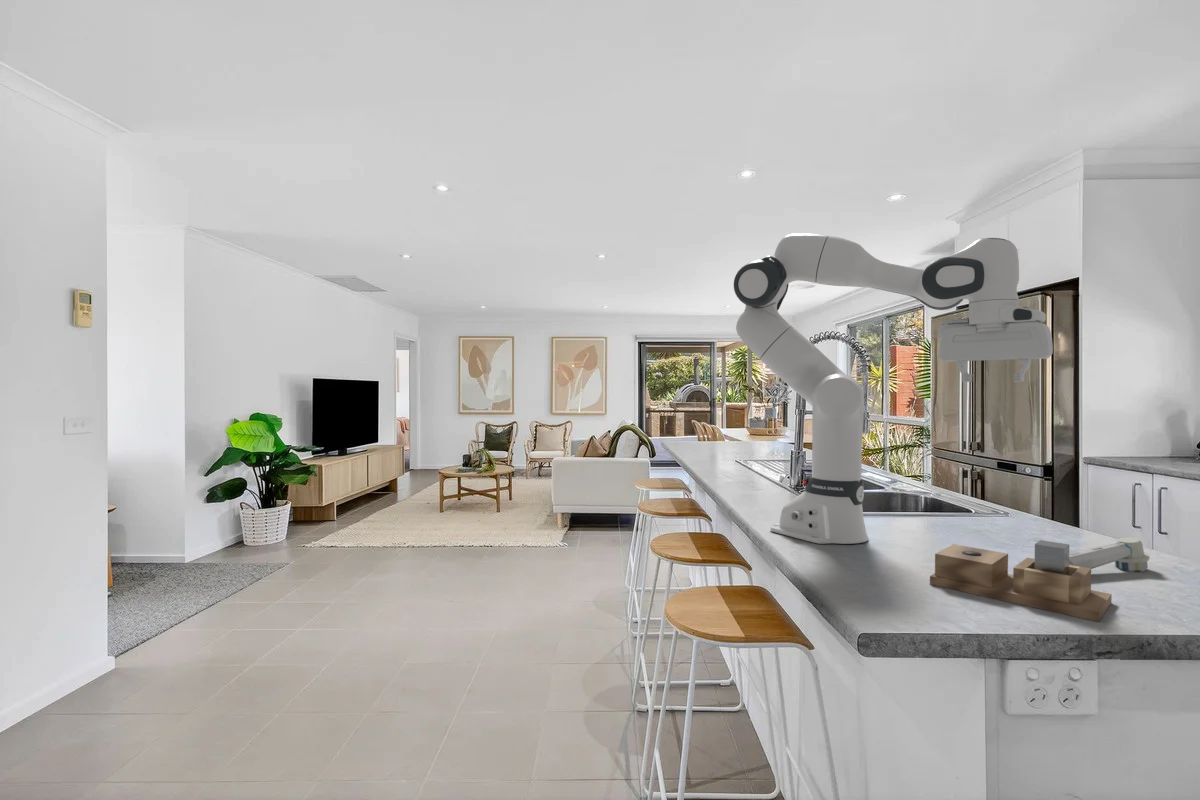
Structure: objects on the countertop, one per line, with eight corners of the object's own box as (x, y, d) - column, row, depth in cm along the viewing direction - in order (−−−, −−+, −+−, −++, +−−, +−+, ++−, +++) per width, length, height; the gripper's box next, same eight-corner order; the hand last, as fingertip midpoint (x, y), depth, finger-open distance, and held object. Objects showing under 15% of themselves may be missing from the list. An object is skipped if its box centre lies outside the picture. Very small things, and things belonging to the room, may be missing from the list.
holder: (929, 584, 110) (930, 553, 110) (952, 570, 118) (952, 542, 118) (1098, 621, 93) (1099, 585, 93) (1111, 602, 101) (1112, 569, 101)
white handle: (1034, 555, 116) (1124, 528, 124) (1037, 589, 117) (1127, 560, 124) (1062, 562, 111) (1154, 534, 119) (1066, 598, 112) (1157, 567, 119)
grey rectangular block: (1034, 591, 102) (1034, 544, 102) (1039, 585, 105) (1040, 540, 105) (1063, 597, 99) (1064, 548, 99) (1068, 591, 102) (1069, 544, 102)
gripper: (934, 319, 133) (933, 382, 133) (1048, 310, 118) (1047, 381, 118) (944, 321, 137) (943, 382, 137) (1055, 313, 122) (1054, 381, 122)
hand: (992, 381), depth 128 cm, fingers open, 8 cm apart
